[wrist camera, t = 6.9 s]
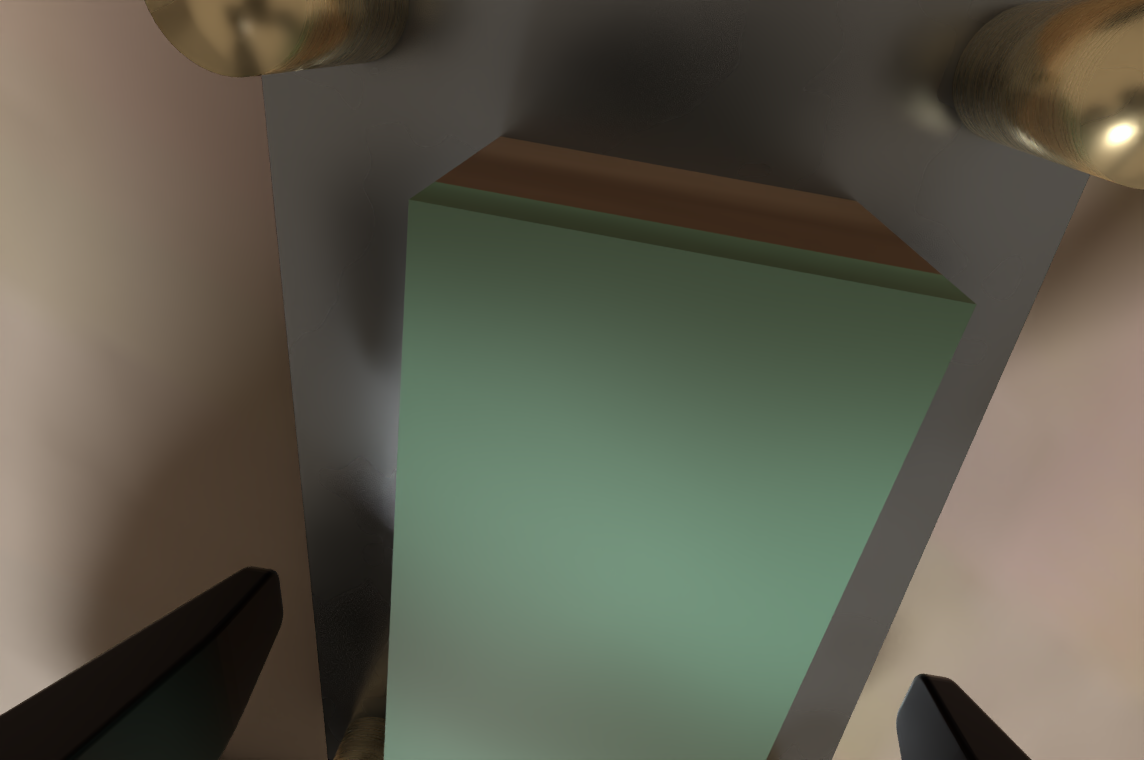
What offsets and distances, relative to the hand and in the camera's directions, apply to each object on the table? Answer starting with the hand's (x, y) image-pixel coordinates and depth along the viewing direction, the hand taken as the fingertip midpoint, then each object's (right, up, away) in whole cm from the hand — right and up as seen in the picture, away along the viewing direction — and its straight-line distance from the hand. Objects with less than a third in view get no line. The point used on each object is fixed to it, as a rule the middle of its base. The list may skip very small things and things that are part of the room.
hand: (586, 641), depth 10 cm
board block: (0, +1, +3) cm, 3 cm away
